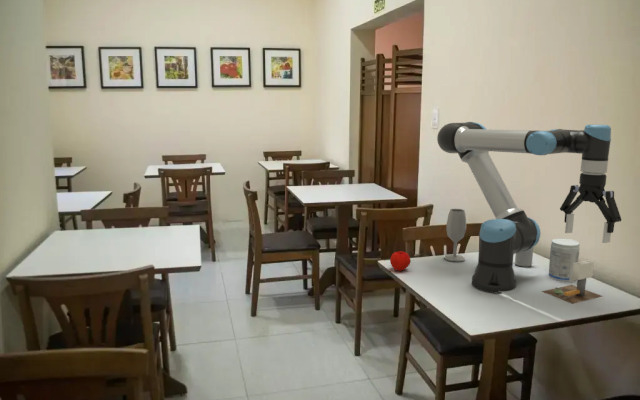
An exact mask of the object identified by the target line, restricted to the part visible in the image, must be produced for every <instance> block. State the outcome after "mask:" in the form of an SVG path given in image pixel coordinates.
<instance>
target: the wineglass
mask: <svg viewBox="0 0 640 400" xmlns="http://www.w3.org/2000/svg"><path fill="white" fill-rule="evenodd" d="M466 216H467V214H466V210H465V209H463V208H450V210H449V213H448V215H447V221H446V226H445V227H446V228H445V229H446V230H445V231H446V233H447V234H446V235H447V237H448V238H449V239H451V240H450V241H452V242H453V249H452V250H453V252H452V254H451V253H450V254H444V257H443V259H444V260H446V261H448V262H455V263H459V262H465V259H466V257H465V256H463V255H461V254H457V252H458V251H457V249H458V242H460V241H461V240H463V239H464V237H465V235H466V231H467V217H466Z"/></svg>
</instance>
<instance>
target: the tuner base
mask: <svg viewBox="0 0 640 400" xmlns="http://www.w3.org/2000/svg"><path fill="white" fill-rule="evenodd" d="M576 288H577V285H573V284H569V285H565V286H560V287H558V286H557V287H555V288H551V289H547V290H542V291H541V292H542V293H544V294H547V295H549V296H552V297H555V298H557V299H559V300H562V301H564V302H567V303H569V304H572V305H573V304H577V303H581V302H585V301H590V300H594V299H598V298H602V297H603V295H601V294H598V293H596V292H592V291H590V290H587V289H585V295H584V296H581V295H577V294H575V295H571V296H565V295H564V292H567V291H572V290H576Z"/></svg>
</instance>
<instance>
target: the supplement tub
mask: <svg viewBox="0 0 640 400" xmlns="http://www.w3.org/2000/svg"><path fill="white" fill-rule="evenodd" d="M579 256H580V242H579V241H577V240H574V239H570V238H553V239H552V240H551V243H550V253H549V262H548V263H549V265H548V277H549V278H550V279H552V280H555V281H559V282H564V283H567V282H568V283H569V282H570V283H572V282H577V280H574V279H572V269H573V263H575V262H579V260H580V259H579Z"/></svg>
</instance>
